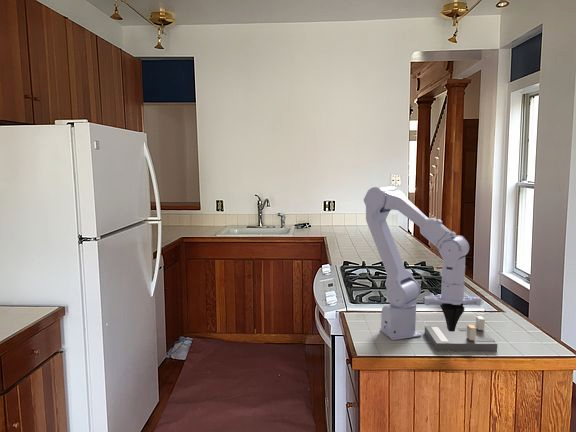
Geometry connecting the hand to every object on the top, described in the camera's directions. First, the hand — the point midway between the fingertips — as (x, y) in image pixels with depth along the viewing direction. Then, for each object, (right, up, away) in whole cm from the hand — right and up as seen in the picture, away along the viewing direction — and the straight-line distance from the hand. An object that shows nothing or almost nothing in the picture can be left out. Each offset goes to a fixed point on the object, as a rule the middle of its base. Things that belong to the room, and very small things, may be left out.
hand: (450, 330), depth 121 cm
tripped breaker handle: (+6, -2, 0) cm, 6 cm away
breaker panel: (+4, -4, +4) cm, 7 cm away
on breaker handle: (+11, -1, +7) cm, 13 cm away
